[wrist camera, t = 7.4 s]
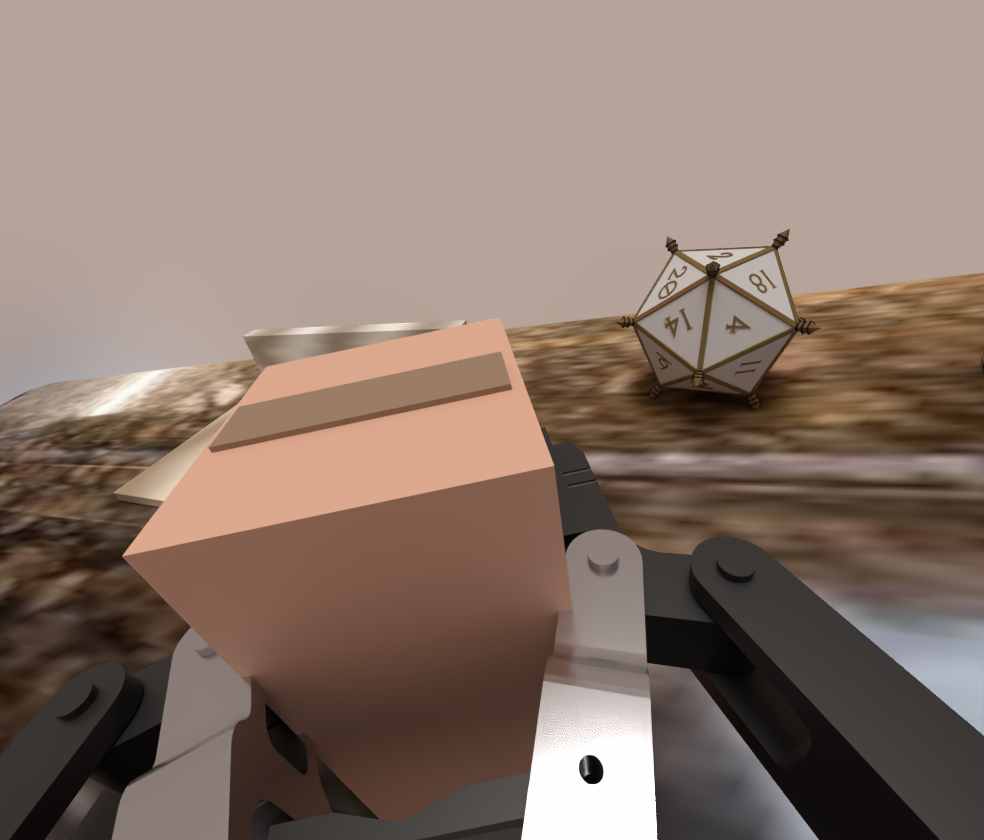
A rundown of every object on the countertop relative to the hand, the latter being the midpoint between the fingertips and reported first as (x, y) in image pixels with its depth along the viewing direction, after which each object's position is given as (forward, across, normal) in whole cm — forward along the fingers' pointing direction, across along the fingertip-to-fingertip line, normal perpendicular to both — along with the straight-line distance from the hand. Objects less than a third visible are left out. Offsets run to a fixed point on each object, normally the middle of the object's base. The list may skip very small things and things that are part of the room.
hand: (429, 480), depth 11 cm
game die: (+11, -14, +7) cm, 19 cm away
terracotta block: (-3, 0, +6) cm, 7 cm away
